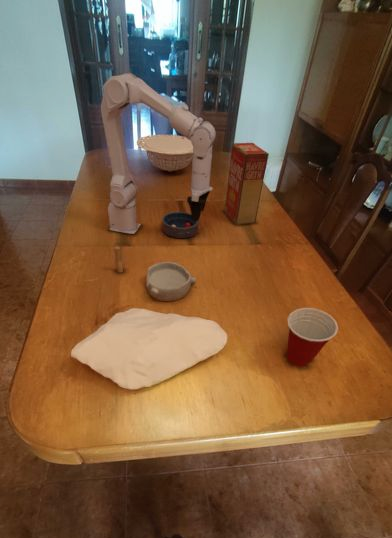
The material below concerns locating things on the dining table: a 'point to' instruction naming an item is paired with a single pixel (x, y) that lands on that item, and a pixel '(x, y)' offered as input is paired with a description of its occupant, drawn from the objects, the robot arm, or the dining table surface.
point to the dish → (168, 281)
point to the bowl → (179, 225)
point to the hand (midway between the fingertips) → (198, 215)
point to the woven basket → (167, 150)
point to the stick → (118, 259)
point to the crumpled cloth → (148, 346)
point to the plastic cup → (308, 334)
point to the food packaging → (245, 182)
